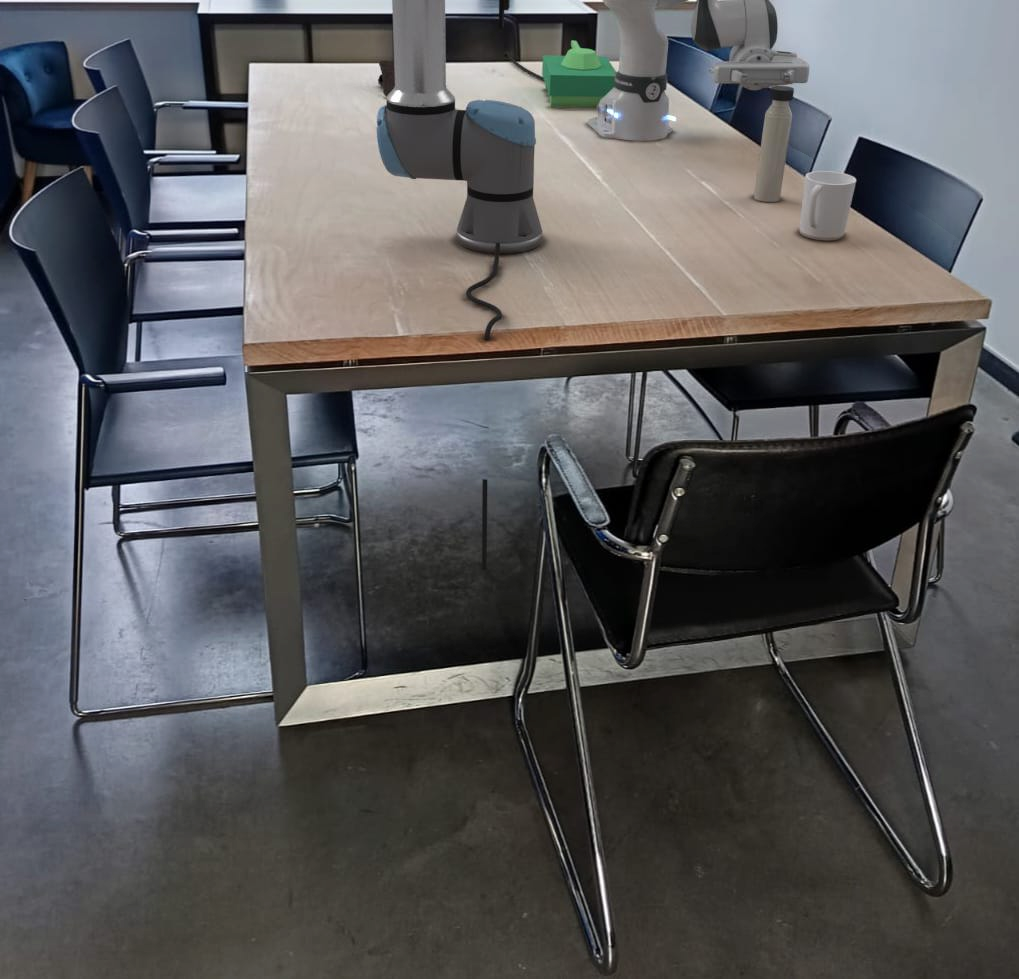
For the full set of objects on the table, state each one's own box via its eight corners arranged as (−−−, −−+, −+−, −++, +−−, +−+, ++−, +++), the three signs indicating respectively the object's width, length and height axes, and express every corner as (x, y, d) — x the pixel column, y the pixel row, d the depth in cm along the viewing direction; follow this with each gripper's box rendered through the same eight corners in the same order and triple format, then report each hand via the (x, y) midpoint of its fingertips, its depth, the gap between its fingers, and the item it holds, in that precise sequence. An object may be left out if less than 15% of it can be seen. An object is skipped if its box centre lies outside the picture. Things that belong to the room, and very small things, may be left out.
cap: (772, 101, 209) (774, 90, 208) (767, 96, 213) (768, 85, 212) (795, 101, 209) (796, 90, 208) (789, 96, 213) (790, 85, 212)
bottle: (757, 202, 219) (772, 93, 208) (751, 194, 223) (765, 87, 212) (782, 202, 219) (799, 93, 208) (776, 194, 224) (791, 87, 213)
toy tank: (603, 37, 308) (620, 60, 279) (600, 82, 315) (616, 110, 285) (541, 36, 308) (551, 59, 278) (539, 81, 314) (548, 109, 284)
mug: (809, 222, 208) (818, 168, 202) (854, 233, 203) (864, 177, 197) (782, 236, 200) (791, 180, 195) (827, 247, 195) (838, 190, 190)
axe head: (443, 87, 294) (392, 77, 287) (436, 115, 299) (385, 106, 292) (421, 62, 307) (371, 52, 300) (414, 89, 311) (365, 80, 304)
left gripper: (534, -91, 215) (530, 25, 226) (409, -94, 217) (412, 20, 229) (530, -88, 209) (526, 31, 220) (401, -92, 211) (405, 26, 222)
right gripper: (709, 53, 240) (717, 62, 228) (803, 52, 239) (816, 62, 227) (706, 83, 243) (714, 94, 231) (799, 83, 242) (812, 94, 230)
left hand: (468, 26), depth 224 cm, fingers open, 13 cm apart
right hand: (765, 78), depth 229 cm, fingers open, 8 cm apart
